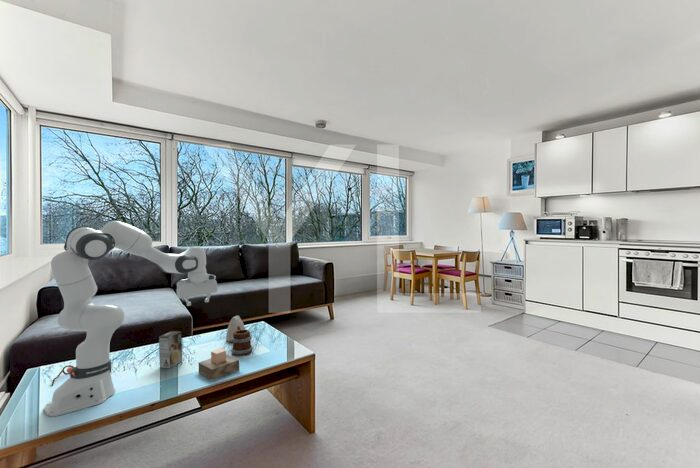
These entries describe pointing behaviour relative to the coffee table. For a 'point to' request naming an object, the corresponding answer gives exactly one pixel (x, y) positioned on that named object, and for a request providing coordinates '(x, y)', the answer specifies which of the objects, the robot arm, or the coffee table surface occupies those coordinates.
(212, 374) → the block
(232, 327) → the sculpture
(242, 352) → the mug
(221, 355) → the cube
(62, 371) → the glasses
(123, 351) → the coffee table surface
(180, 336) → the coffee box
